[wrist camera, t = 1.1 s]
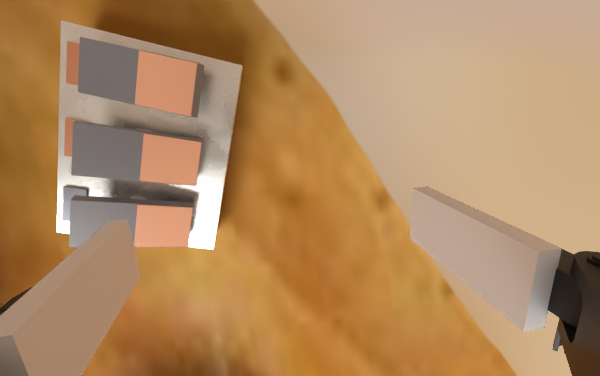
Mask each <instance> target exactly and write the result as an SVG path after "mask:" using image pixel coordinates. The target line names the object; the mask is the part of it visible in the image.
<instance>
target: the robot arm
mask: <svg viewBox="0 0 600 376" xmlns="http://www.w3.org/2000/svg"><path fill="white" fill-rule="evenodd" d="M410 239H411V240H412V241H413V242H414V243H416V244H417V245H418V246H419V247H420V248H422V249H423V250H424V251H425V252H427V253H428V254H429V255H430V256H431V257H433V258H434V259H435V260H436V261H438V262H439V263H440V264H441V265H442V266H444V267H445V268H446V269H447V270H449V271H450V272H451V273H452V274H453V275H455V276H456V277H457V278H458V279H460V280H461V281H462V282H463V283H464V284H466V285H467V286H468V287H469V288H470V289H472V290H473V291H474V292H475V293H476V294H478V295H479V296H480V297H481V298H483V299H484V300H485V301H486V302H488V303H489V304H490V305H491V306H492V307H494V308H495V309H496V310H497V311H498V312H500V313H501V314H502V315H503V316H505V317H506V318H507V319H508V320H510V321H511V322H512V323H513V324H514V325H515V326H517V327H518V328H519V329H520V330H522V331H523V332H526V331H531V330H535V329H540V328H544V327H545V323H546V319H547V314H548V310H549V311H550V312H552V313H554V314H555V315H556V316H558V317H559V323H558V327H557V331H556V335H555V340H554V344H553V350H555V351H558V347H559V346H561V345H563V348H564V353H565V354H566V357H567V360H568V363H569V367H570V370H571V373H572V376H600V253H599V252H590V251H583V252H578V253H576V254H571V253H569V252H567V251H565V250H563V249H562V248H560V247H558V246H556V245H553V244H551V243H549V242H547V241H545V240H543V239H540V238H538V237H536V236H534V235H531V234H529V233H527V232H525V231H523V230H521V229H519V228H516V227H514V226H512V225H510V224H508V223H505V222H503V221H501V220H499V219H497V218H495V217H492V216H490V215H488V214H486V213H484V212H481V211H479V210H477V209H475V208H473V207H470V206H468V205H466V204H464V203H462V202H460V201H457V200H455V199H453V198H451V197H449V196H446V195H444V194H442V193H440V192H438V191H436V190H434V189H431V188H429V187H418V188H413V193H412V212H411V228H410ZM140 277H141V275H140V270H139V266H138V262H137V258H136V253H135V249H134V245H133V241H132V237H131V232H130V228H129V224H128V220H118V221H108V222H107V223H106V224H105V225H103V226H102V227H101V228H100V229H99V230H98V231H97V232H95V233H94V234H93V235H92V236H91V237H90V238H89V239H87V240H86V241H85V242H84V243H83V244H82V245H81V246H79V247H78V248H77V249H76V250H75V251H74V252H73V253H71V254H70V255H69V256H68V257H67V258H66V259H65V260H63V261H62V262H61V263H60V264H59V265H58V266H57V267H55V268H54V269H53V270H52V271H51V272H50V273H48V274H47V275H46V276H45V277H44V278H43V279H42V280H40V281H39V282H38V283H37V284H36V285H35V286H34V287H31V288H29V289H28V290H26V291H24V292H22V293H21V294H19V295H17V296H15V297H14V298H12V299H11V300H10V301H8V302H7V303H6V304H5V305H4V306H3V307H1V308H0V376H82V374H83V372H84V371H85V369H86V367H87V366H88V364H89V362H90V361H91V359H92V357H93V356H94V354H95V352H96V351H97V349H98V347H99V346H100V344H101V342H102V340H103V339H104V337H105V335H106V334H107V332H108V330H109V329H110V327H111V325H112V324H113V322H114V320H115V319H116V317H117V315H118V314H119V312H120V310H121V309H122V307H123V305H124V304H125V302H126V300H127V298H128V297H129V295H130V293H131V292H132V290H133V288H134V287H135V285H136V283H137V282H138V280H139V278H140Z"/></svg>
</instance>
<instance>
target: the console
mask: <svg viewBox="0 0 600 376" xmlns="http://www.w3.org/2000/svg"><path fill="white" fill-rule="evenodd" d="M80 37H84V38H88V39H93V40H97V41H102V42H107V43H111V44H116V45H120V46H125V47H129V48H134V49H138V50H143V51H147V52H152V53H156V54H161V55H166V56H170V57H175V58H179V59H184V60H188V61H193V62H197V63H200V64H202V65H204V73H203V80H202V88H201V96H200V104H199V111H198V118H195V117H187V116H183V115H178V114H174V113H169V112H165V111H160V110H156V109H151V108H147V107H142V106H138V105H133V104H129V103H124V102H120V101H115V100H111V99H106V98H102V97H97V96H93V95H88V94H84V93H79V92H78V73H79V44H80ZM242 73H243V67H242V65H239V64H235V63H231V62H227V61H223V60H219V59H215V58H211V57H207V56H203V55H199V54H194V53H190V52H186V51H182V50H178V49H174V48H170V47H166V46H162V45H158V44H154V43H150V42H146V41H142V40H138V39H134V38H130V37H126V36H122V35H118V34H114V33H110V32H106V31H102V30H98V29H94V28H90V27H86V26H82V25H78V24H74V23H70V22H66V21H62V20H61V40H60V89H59V139H58V189H57V233H66V234H69V232H70V200H71V199H72V198H73V196H74V195H80V196H96V197H112V198H128V199H130V197H131V196H134V195H140V196H144V197H146V200H160V201H176V202H192V203H193V214H192V222H191V229H190V237H189V244H188V247H195V248H204V249H214V244H215V240H216V235H217V230H218V224H219V218H220V212H221V205H222V199H223V193H224V186H225V180H226V174H227V167H228V161H229V155H230V148H231V142H232V136H233V130H234V123H235V117H236V111H237V104H238V98H239V92H240V85H241V79H242ZM77 120H78V121H85V122H91V123H98V124H104V125H111V126H117V127H124V128H130V129H136V128H140V129H147V130H151V131H152V132H156V133H163V134H169V135H176V136H182V137H189V138H195V139H201V140H202V148H201V155H200V163H199V170H198V177H197V185H196V186H190V185H179V184H167V183H155V182H144V181H132V180H121V179H109V178H98V177H86V176H74V175H71V168H72V136H73V122H74V121H77Z"/></svg>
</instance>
